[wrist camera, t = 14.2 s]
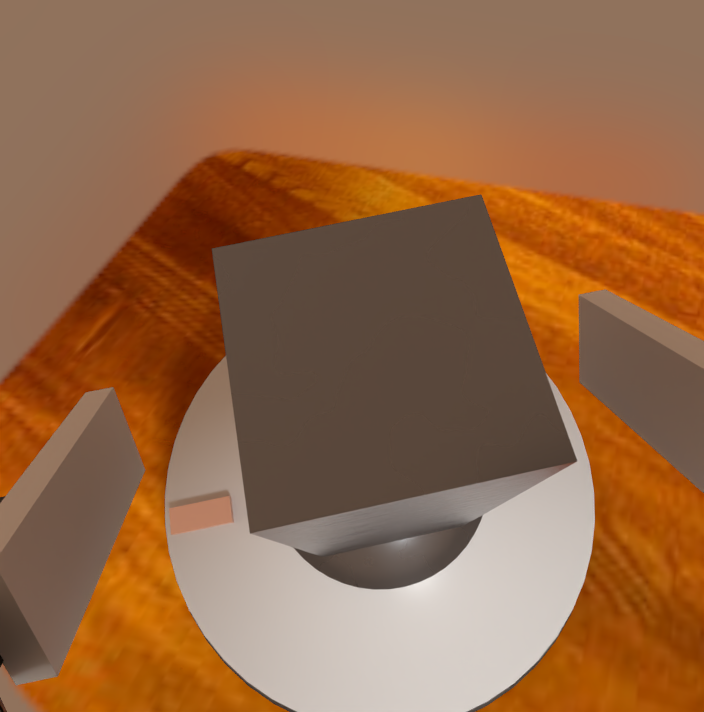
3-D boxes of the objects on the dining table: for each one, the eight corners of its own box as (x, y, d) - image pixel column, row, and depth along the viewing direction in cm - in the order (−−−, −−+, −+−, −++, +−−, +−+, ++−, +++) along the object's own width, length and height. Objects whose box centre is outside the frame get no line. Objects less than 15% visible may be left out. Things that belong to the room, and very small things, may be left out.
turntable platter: (510, 275, 27) (518, 255, 25) (647, 664, 21) (670, 672, 19) (163, 344, 26) (149, 328, 25) (196, 765, 20) (180, 782, 19)
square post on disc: (448, 367, 24) (533, 117, 11) (505, 562, 21) (717, 542, 8) (264, 406, 24) (124, 197, 10) (296, 609, 21) (156, 669, 8)
